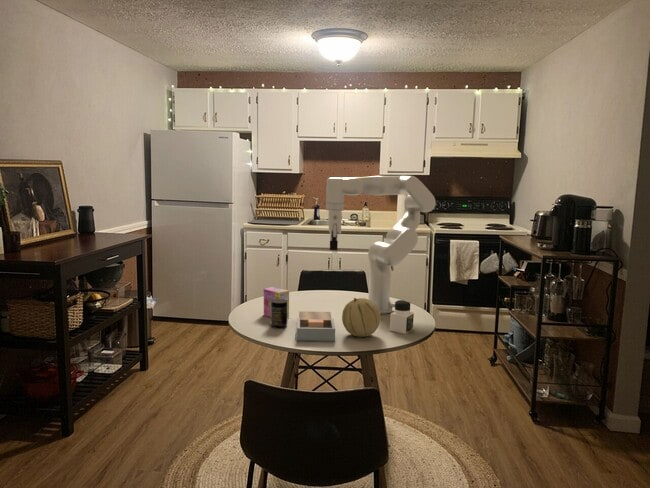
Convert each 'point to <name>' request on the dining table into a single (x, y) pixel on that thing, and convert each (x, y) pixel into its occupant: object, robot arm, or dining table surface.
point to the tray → (315, 333)
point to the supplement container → (279, 313)
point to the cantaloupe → (361, 317)
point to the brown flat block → (315, 317)
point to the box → (274, 294)
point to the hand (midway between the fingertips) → (333, 249)
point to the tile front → (315, 323)
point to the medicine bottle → (401, 317)
